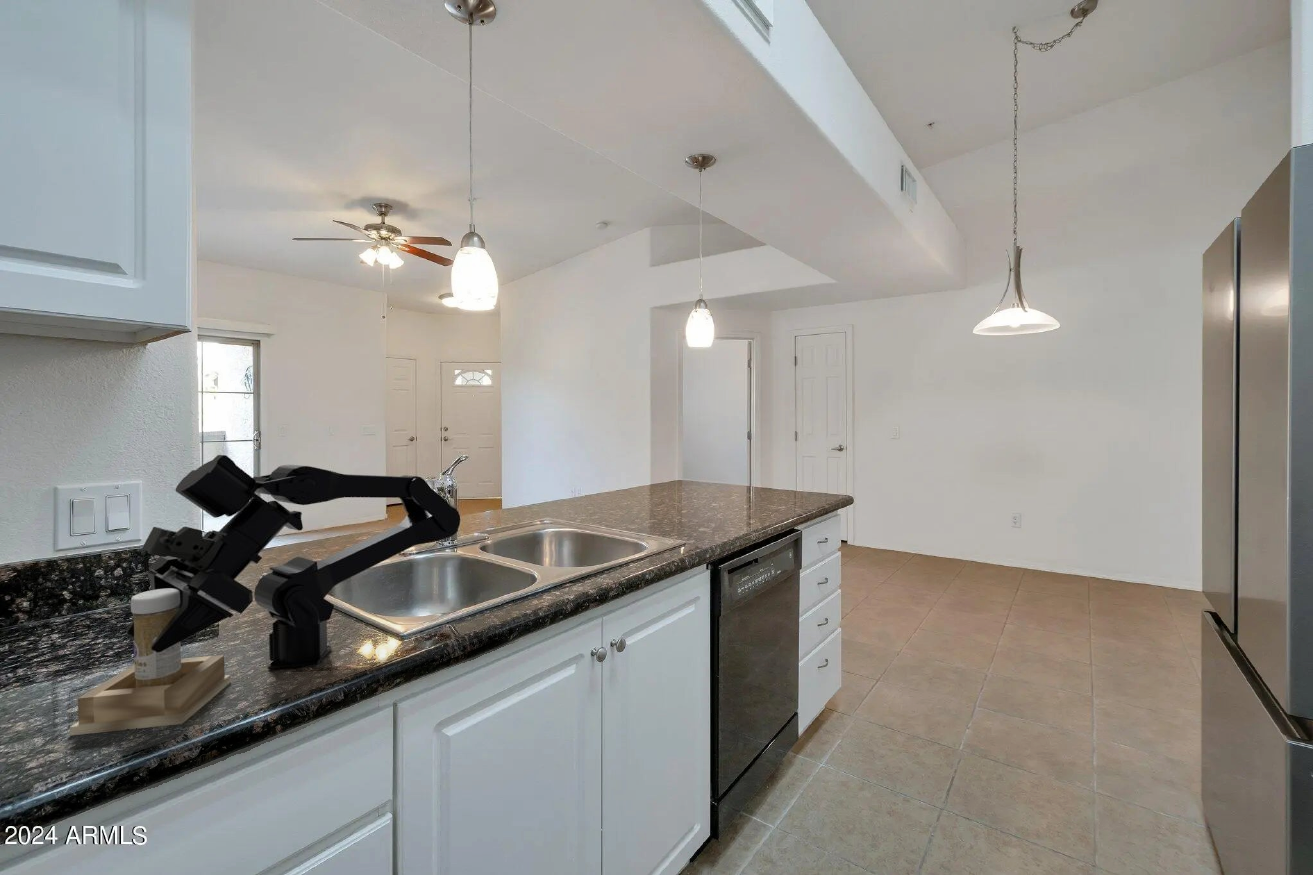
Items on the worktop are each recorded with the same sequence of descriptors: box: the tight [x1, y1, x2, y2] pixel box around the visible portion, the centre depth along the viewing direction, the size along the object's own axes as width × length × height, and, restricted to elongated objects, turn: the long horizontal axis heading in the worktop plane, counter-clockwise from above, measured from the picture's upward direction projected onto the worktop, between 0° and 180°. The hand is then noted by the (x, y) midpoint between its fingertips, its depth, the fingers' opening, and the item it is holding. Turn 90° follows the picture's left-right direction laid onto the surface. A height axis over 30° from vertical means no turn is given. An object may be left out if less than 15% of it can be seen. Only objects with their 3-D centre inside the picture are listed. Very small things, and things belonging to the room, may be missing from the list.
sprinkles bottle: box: [130, 588, 182, 688], centre depth 70 cm, size 5×5×14 cm
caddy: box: [69, 654, 232, 737], centre depth 70 cm, size 11×11×4 cm
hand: (141, 642), depth 69 cm, fingers open, 9 cm apart
